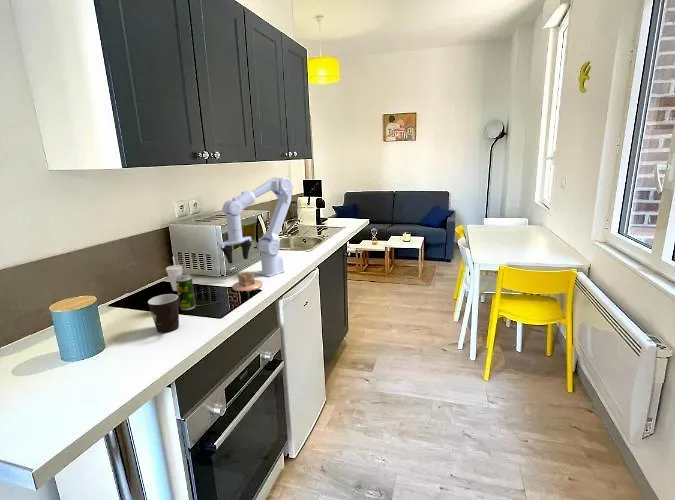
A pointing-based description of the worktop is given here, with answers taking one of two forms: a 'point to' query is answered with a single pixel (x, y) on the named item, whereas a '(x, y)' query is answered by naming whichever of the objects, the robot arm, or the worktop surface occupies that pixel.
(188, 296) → the beer can
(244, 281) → the walnut block
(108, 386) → the worktop surface
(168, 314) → the coffee mug
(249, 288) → the terracotta dish
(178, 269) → the smoothie
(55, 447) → the worktop surface
